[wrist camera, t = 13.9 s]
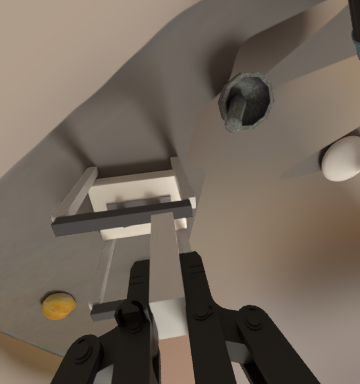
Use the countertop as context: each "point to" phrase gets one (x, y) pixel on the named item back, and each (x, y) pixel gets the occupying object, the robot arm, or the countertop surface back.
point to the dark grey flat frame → (116, 220)
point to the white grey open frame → (127, 197)
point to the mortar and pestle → (245, 101)
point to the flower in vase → (342, 159)
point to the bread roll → (58, 306)
